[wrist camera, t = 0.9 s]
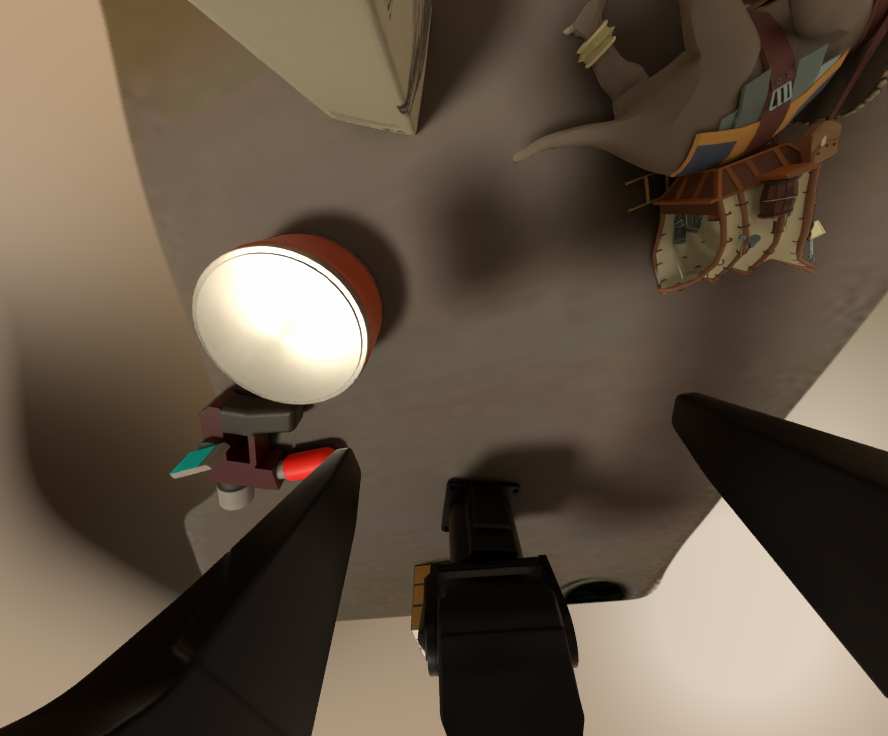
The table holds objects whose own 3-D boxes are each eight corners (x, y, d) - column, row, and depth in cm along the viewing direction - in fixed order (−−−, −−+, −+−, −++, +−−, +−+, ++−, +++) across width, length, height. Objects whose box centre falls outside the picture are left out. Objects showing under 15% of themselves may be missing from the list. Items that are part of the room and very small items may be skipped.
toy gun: (225, 491, 28) (187, 544, 24) (208, 375, 22) (154, 418, 18) (337, 505, 29) (320, 559, 25) (347, 399, 24) (327, 444, 19)
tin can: (384, 368, 22) (370, 412, 18) (259, 359, 22) (213, 402, 17) (384, 239, 18) (367, 253, 14) (231, 224, 18) (161, 235, 13)
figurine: (1386, -638, 6) (1074, 204, 14) (935, -247, 12) (887, 203, 19) (482, 32, 10) (624, 416, 17) (457, 94, 15) (573, 365, 22)
